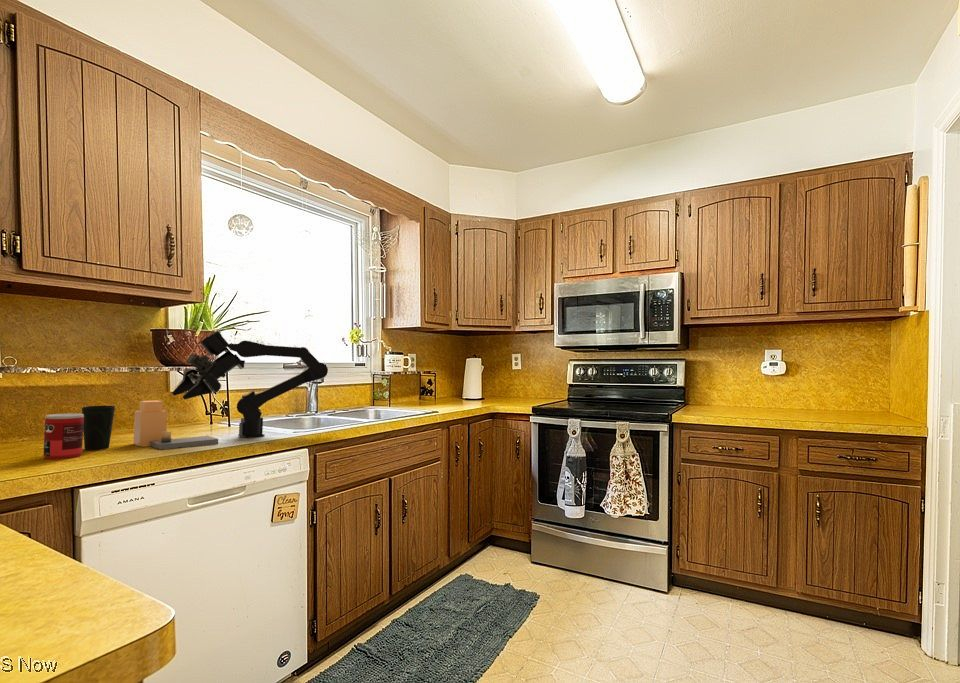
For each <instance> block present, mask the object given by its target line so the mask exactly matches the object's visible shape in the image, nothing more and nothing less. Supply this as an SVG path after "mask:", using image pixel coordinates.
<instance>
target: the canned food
mask: <svg viewBox="0 0 960 683" xmlns="http://www.w3.org/2000/svg"><path fill="white" fill-rule="evenodd" d="M83 425H84V414H82V413H77V412H75V413H74V412H73V413H72V412H71V413H53V414H52V413H51V414H46V415H45V419H44V436H43V453H42V454H43V458H44V459H46V460H67V459H72V458H73V459H74V458H78V457H80V456H82V453H83V444H84V432H83Z"/></svg>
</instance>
